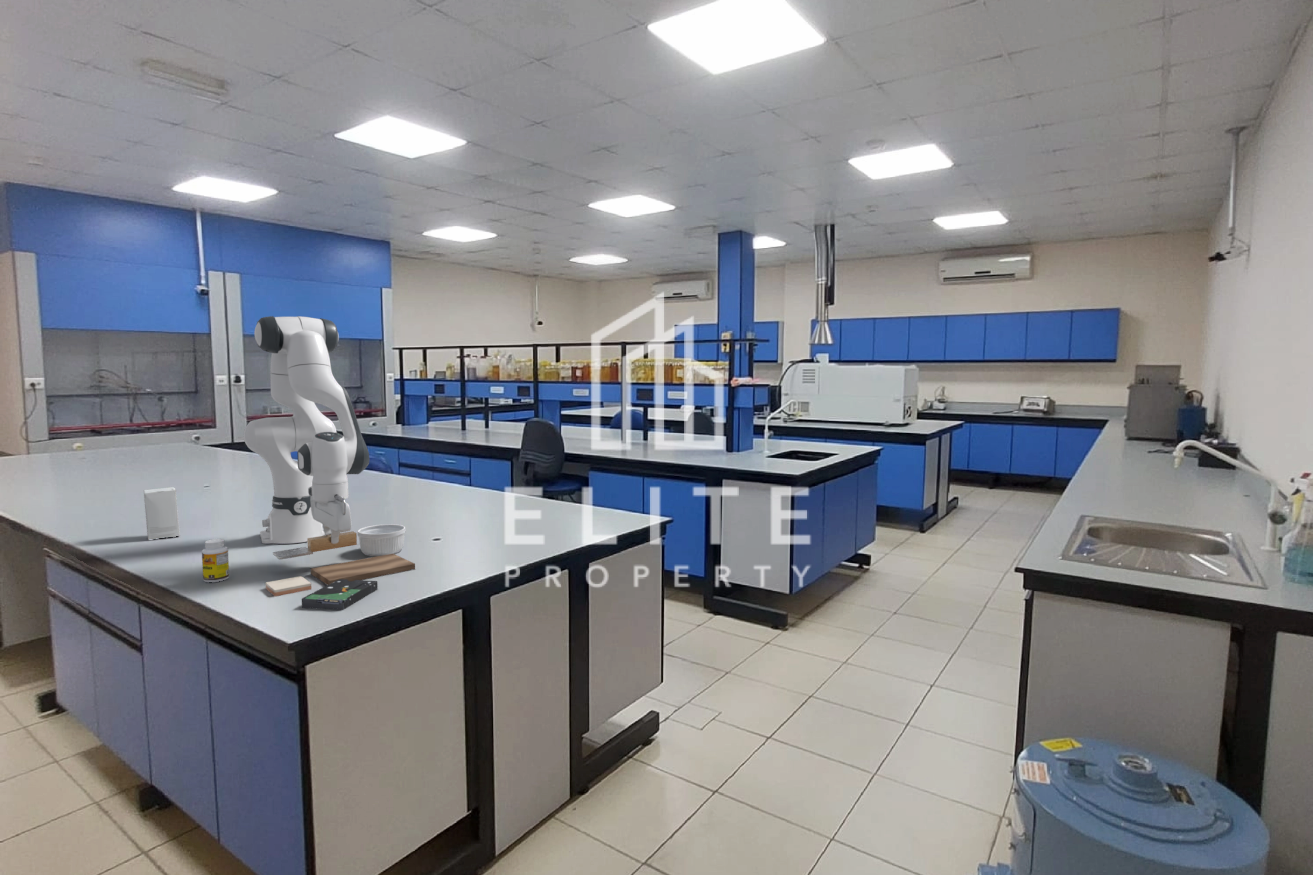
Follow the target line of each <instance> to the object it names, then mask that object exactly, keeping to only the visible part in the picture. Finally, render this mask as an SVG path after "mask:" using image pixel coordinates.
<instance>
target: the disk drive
mask: <svg viewBox="0 0 1313 875" xmlns="http://www.w3.org/2000/svg"><path fill="white" fill-rule="evenodd" d="M378 585H379V584H378V581H377V580H367V579H364V580H355V581H348V579H339V580H336V581H335V582H333V583H331V584H329V585H327V584H326V586H323V587H321V588H320V589H319V588H318V589H317V590H315V591H314V592H312V593H310V594H307V595H306V596H304V597H302V598H301V608H302V609H316V608H317V609H319V610H321V609H322V610H333V611H334V610H335V611H336V610H337V611H345V610H346V609H347V608H349V607H351V606H352V605H355V604H356V603H358V602H360V601H361V600H363V599H365V598H366V597H368V596H369V595H372V594H374V593H375V592H376V591H378V590H379V589H378V587H379V586H378Z"/></svg>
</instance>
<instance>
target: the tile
mask: <svg viewBox="0 0 1313 875" xmlns="http://www.w3.org/2000/svg"><path fill="white" fill-rule="evenodd" d="M265 589H266V590H267V591H268V592H269V593H272V594H271V595H273V597H279V596H285V595H290V594H295V593H300V592H304V591H309V590H312V583H311V582H310V581H308V579H306V578H304V577H303V576H301V575H300V576H294V577H289V578H283V579H278V580H272V581H267V582H265Z"/></svg>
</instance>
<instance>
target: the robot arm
mask: <svg viewBox="0 0 1313 875" xmlns="http://www.w3.org/2000/svg"><path fill="white" fill-rule="evenodd" d="M254 339H255V342H256V345H257V347H258V348H259V349H260V350H262V351H264V352H266V353H271V356H270V371H269V372H270V396H271V398H272V399H273V401H274V402H276V403H277V404H279V405H281V406H283V407H286V408H289V409H290V410H292V416H279V417H275V416H274V417H263V418H259V419H254V420H251V421H249V422H248V424H247V425H246V426H245V428H244V431H243V440H244V443H245V445H246V446H247V448H248V449H249V450H251V451H252V452H253V453H256V455H258V456H259V457H261V458H262V459H263V460H264V462H266V464H267V466H268V468H269V469H270V472H271V477H272V485H273V486H272V487H273V496H272V500H271V507H272V508H271V511H270V513H269V514H268V516H267V518H265V519H262V521H261V522H262V523H261V526H262V528H266V529H265V530H262V531H259V536H260V539H261V540H260V541H261V544H263V545H264V544H266V545H267V544H279V545H280V544H283V545H284V544H285V545H286V544H297V543H299V544H300V543H305V542H306V543H307V542H308V540H307V538H313V537H319V536H326V535H331V537H330V542H331V543H332V544H335V543H338V542H339V534H340V533H345V532H351V529H352V517H351V515H352V514H351V508H350V504H349V503H348V502H346V501H345V500H346V499H349V478H348V475H360V474H361V473H363V471H364V470H365V469H366V468H368V466H369V464H370V460H371V459H370V458H371V457H370V452H369V449H368V447H367V444H366V441H365V440H364V437H363V435H362V432H361V429H360V425H359V422H358V419H357V416H356V413H355V409H354V407H353V404H352V401H351V398H350V395H349V393H348V390H347V389H346V387H344V386H342V385H341V384H339V383H338V381H337V380H336V378H335V377H334V375H333V371H332V366H331V365H332V364H331V360H330V353H332V352H334V351H335V350H336V348H338V343H339V339H340V336H339V332H338V327H337V325H336V324H335V322H334V321H332V320H329V319H326V318H322V317H321V318H315V317H309V316H299V315H297V316H274V315H270V316H263V317H260V318H259V319H258V320H257V321H256V325H255V328H254ZM316 404H319V405H322V406H324V407H327V408H329V409H330V410H332V411H333V412H334V413H335V414H336V416H337V419H338V422H339V425H340V429H341V431H342V434H341V433H339V432H337V427H336V425H335V424H334V422H333V421H332V420H331V419H330V418H329V417H327V416H326V415H324V414H323V413H322V412H321V410H320V409H319V408H318V406H317V405H316ZM294 452H297V454H296V455H297V460H294V459H293V457H292V453H294Z"/></svg>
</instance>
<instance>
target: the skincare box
mask: <svg viewBox="0 0 1313 875" xmlns="http://www.w3.org/2000/svg"><path fill="white" fill-rule="evenodd" d="M143 500H144V510H145V511H144V512H145V521H146V533H147V534H146V535H147V538H148V540H149V539H156V538H163V537H173V538H177V537H176V536H179V537H180V536H181V535H180V522H179V511H178V499H177V489H176V488H175V487H174V486H171V487H170V486H169V487H161V488H152V489H151V488H150V489H144V490H143Z"/></svg>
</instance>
